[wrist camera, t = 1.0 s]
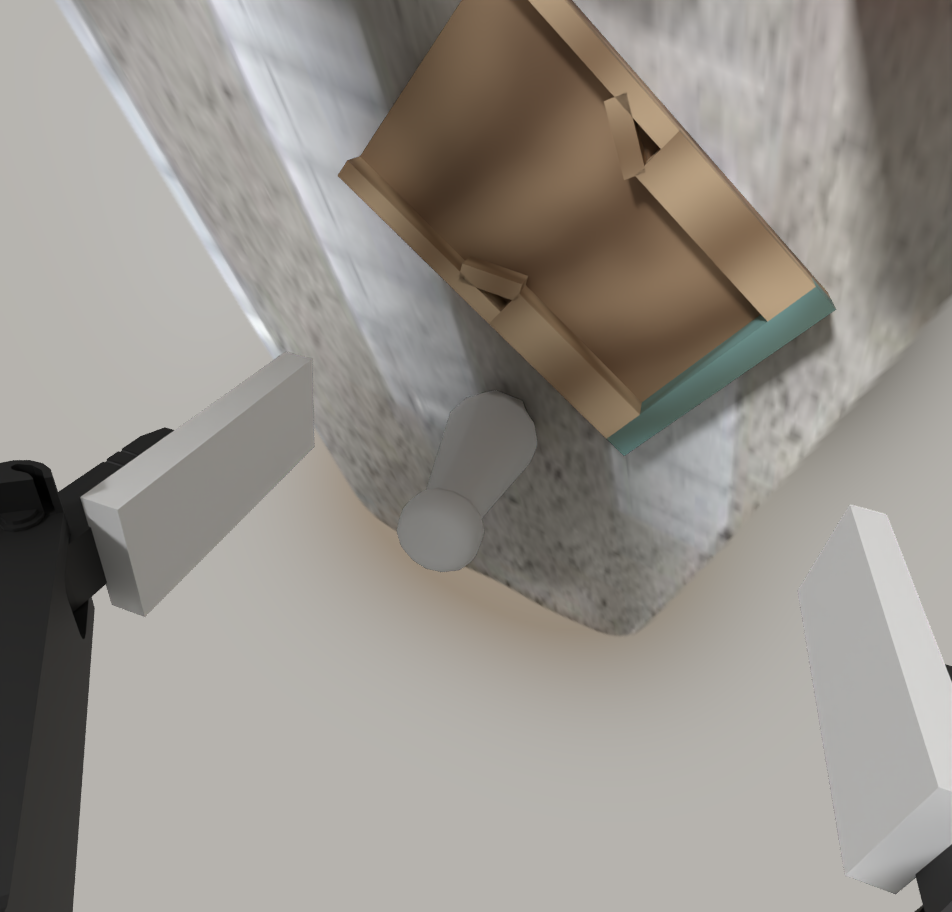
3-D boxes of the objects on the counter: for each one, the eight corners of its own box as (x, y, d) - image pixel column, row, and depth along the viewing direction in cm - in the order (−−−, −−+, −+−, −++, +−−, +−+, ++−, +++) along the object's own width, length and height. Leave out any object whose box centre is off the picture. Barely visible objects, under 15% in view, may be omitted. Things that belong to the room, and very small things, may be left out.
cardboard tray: (358, 168, 35) (337, 175, 33) (513, -67, 28) (498, -76, 26) (628, 434, 39) (623, 456, 37) (827, 292, 31) (836, 309, 29)
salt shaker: (470, 364, 40) (387, 480, 29) (556, 397, 39) (502, 527, 29) (450, 437, 43) (369, 564, 33) (528, 468, 42) (471, 607, 32)
